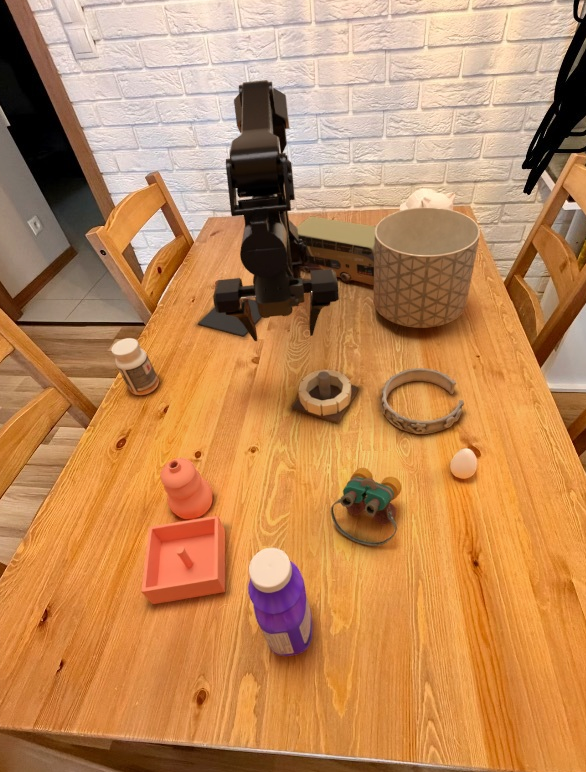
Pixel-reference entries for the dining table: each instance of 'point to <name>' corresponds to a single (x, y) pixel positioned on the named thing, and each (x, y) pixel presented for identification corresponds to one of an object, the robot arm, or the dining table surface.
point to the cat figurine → (429, 200)
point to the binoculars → (369, 500)
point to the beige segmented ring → (331, 404)
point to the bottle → (280, 602)
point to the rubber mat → (229, 321)
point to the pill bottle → (135, 366)
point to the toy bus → (339, 248)
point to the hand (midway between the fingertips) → (283, 337)
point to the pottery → (185, 541)
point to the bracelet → (415, 425)
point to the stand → (325, 397)
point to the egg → (464, 463)
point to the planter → (424, 265)
